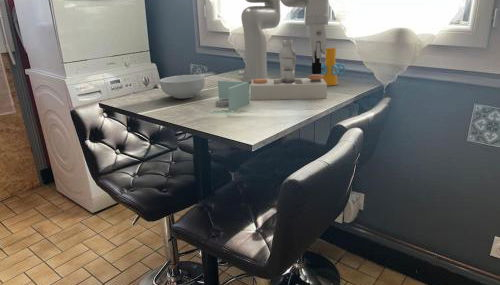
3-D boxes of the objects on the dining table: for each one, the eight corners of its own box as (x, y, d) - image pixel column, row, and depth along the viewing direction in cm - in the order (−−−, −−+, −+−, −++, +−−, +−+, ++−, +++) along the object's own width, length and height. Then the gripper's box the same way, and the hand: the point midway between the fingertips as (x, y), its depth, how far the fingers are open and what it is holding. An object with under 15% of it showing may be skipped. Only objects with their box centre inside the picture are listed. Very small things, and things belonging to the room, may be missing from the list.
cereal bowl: (188, 90, 160) (187, 73, 158) (214, 95, 149) (213, 76, 147) (152, 97, 149) (150, 79, 147) (177, 103, 138) (175, 83, 136)
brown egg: (309, 92, 141) (309, 76, 140) (307, 89, 146) (308, 74, 145) (323, 91, 141) (323, 76, 139) (321, 89, 146) (322, 74, 144)
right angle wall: (220, 101, 139) (219, 80, 137) (249, 103, 134) (248, 82, 131) (201, 108, 129) (199, 86, 127) (231, 111, 124) (230, 88, 121)
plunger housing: (250, 99, 139) (250, 85, 137) (252, 92, 152) (252, 79, 151) (326, 98, 137) (327, 84, 136) (321, 90, 151) (322, 77, 149)
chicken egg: (253, 95, 143) (252, 81, 141) (253, 93, 148) (253, 78, 146) (267, 95, 143) (266, 80, 141) (267, 92, 148) (267, 78, 146)
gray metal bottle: (296, 93, 148) (296, 39, 142) (296, 96, 141) (296, 40, 135) (279, 93, 149) (278, 39, 142) (278, 97, 142) (278, 40, 136)
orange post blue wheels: (345, 82, 165) (347, 46, 161) (343, 87, 156) (344, 49, 151) (317, 82, 169) (318, 46, 165) (312, 86, 160) (313, 49, 155)
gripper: (331, 20, 128) (329, 76, 134) (325, 20, 143) (324, 70, 148) (308, 21, 129) (307, 77, 134) (304, 21, 143) (304, 71, 149)
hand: (316, 73), depth 141 cm, fingers closed
